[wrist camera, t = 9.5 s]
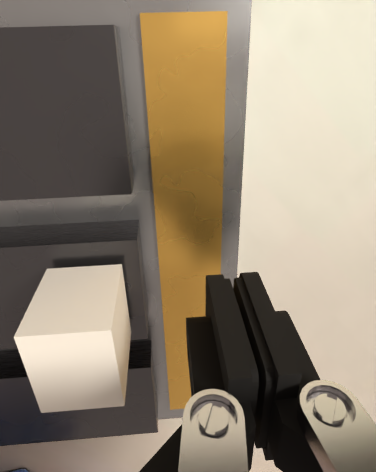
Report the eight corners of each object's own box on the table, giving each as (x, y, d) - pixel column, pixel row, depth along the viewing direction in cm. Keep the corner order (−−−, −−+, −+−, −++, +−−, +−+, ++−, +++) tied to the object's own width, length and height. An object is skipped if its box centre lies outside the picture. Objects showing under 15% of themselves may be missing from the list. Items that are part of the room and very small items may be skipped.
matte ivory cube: (121, 264, 11) (111, 330, 9) (131, 332, 13) (124, 406, 10) (46, 268, 11) (13, 337, 9) (65, 336, 13) (41, 412, 10)
